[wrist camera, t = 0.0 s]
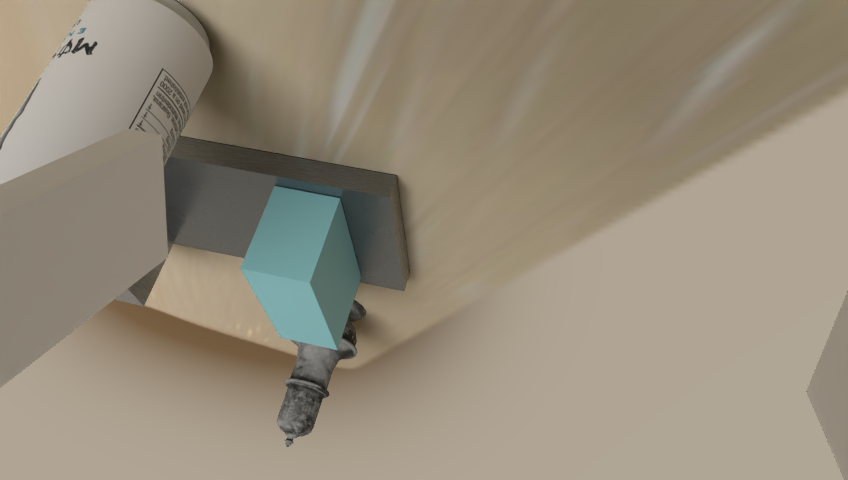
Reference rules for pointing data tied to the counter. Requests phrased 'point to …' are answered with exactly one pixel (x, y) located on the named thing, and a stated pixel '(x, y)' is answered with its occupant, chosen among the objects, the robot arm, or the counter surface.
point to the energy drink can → (111, 83)
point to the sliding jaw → (304, 266)
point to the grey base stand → (248, 196)
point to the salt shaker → (314, 379)
